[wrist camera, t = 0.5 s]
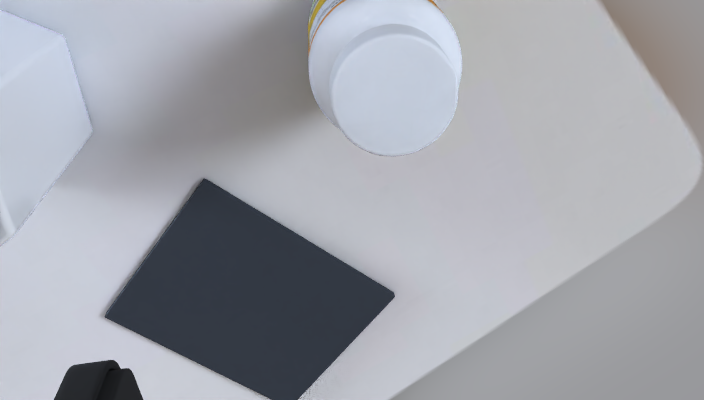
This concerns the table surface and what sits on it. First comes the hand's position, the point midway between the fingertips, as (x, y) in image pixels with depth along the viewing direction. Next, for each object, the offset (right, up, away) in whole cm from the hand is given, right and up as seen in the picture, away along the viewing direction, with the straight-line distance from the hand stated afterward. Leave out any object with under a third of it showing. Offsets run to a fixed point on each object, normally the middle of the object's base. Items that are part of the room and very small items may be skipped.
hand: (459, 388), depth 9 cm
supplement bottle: (-1, +11, +19) cm, 22 cm away
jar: (-18, +8, +20) cm, 27 cm away
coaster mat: (-7, -3, +26) cm, 27 cm away
